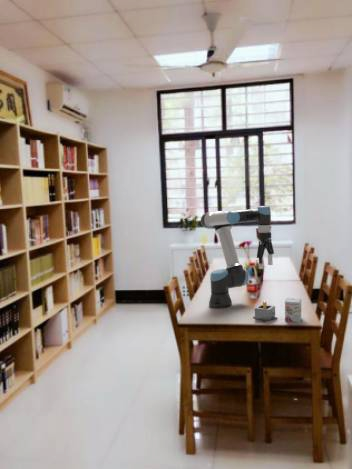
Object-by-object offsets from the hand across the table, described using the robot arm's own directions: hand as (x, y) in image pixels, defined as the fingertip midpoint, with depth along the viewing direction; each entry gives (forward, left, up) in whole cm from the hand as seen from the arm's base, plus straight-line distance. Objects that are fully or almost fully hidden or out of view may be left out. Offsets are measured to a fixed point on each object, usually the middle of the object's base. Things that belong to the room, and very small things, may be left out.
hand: (265, 266), depth 265 cm
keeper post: (+8, -8, -29) cm, 31 cm away
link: (+8, -8, -28) cm, 30 cm away
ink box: (+19, +3, -29) cm, 35 cm away
